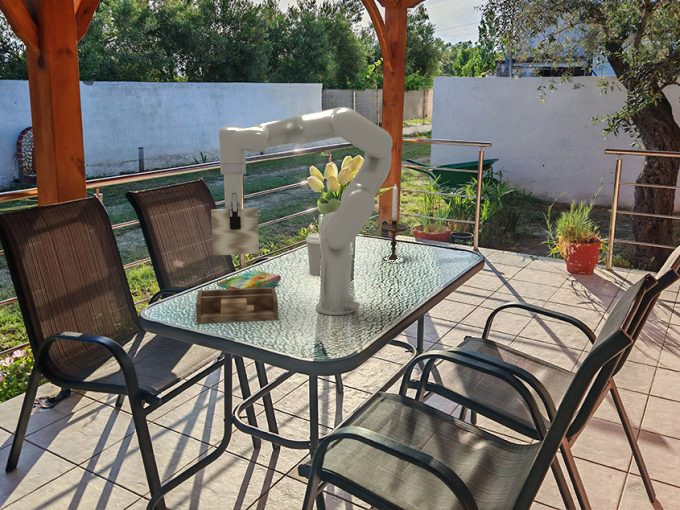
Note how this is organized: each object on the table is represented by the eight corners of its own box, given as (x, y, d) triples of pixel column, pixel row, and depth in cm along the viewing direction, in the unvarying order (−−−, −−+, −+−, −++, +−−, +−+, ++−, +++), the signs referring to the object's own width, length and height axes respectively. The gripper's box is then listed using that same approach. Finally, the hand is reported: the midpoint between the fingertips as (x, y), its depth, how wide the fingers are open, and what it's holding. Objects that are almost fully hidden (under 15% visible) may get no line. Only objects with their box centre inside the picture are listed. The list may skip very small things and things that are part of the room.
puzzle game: (280, 273, 234) (241, 286, 218) (280, 285, 235) (241, 299, 219) (256, 268, 240) (216, 280, 225) (257, 280, 242) (217, 293, 226)
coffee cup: (328, 277, 244) (328, 238, 241) (303, 276, 246) (303, 237, 242) (332, 270, 254) (333, 233, 250) (308, 269, 255) (308, 232, 251)
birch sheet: (258, 252, 203) (257, 208, 200) (259, 253, 202) (257, 209, 198) (213, 254, 201) (211, 209, 198) (213, 255, 200) (211, 210, 196)
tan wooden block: (253, 312, 203) (253, 297, 202) (254, 317, 198) (254, 302, 197) (221, 314, 201) (220, 298, 200) (221, 319, 197) (220, 303, 195)
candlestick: (407, 264, 264) (410, 178, 255) (380, 264, 264) (382, 178, 255) (405, 257, 275) (407, 174, 266) (379, 257, 275) (381, 174, 266)
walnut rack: (275, 307, 210) (274, 287, 209) (278, 322, 197) (277, 300, 195) (199, 311, 206) (198, 290, 205) (197, 326, 193) (196, 304, 191)
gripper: (220, 165, 202) (223, 224, 206) (220, 172, 187) (222, 234, 192) (245, 165, 203) (247, 223, 208) (246, 171, 188) (248, 233, 193)
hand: (235, 228), depth 200 cm, fingers closed on birch sheet, 1 cm apart
